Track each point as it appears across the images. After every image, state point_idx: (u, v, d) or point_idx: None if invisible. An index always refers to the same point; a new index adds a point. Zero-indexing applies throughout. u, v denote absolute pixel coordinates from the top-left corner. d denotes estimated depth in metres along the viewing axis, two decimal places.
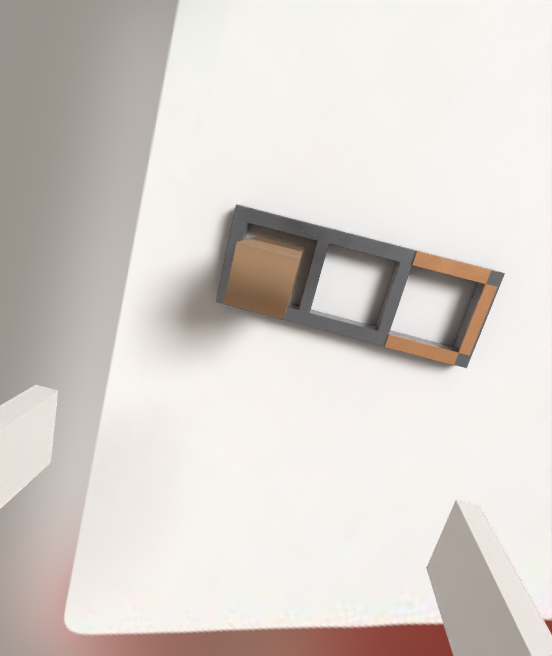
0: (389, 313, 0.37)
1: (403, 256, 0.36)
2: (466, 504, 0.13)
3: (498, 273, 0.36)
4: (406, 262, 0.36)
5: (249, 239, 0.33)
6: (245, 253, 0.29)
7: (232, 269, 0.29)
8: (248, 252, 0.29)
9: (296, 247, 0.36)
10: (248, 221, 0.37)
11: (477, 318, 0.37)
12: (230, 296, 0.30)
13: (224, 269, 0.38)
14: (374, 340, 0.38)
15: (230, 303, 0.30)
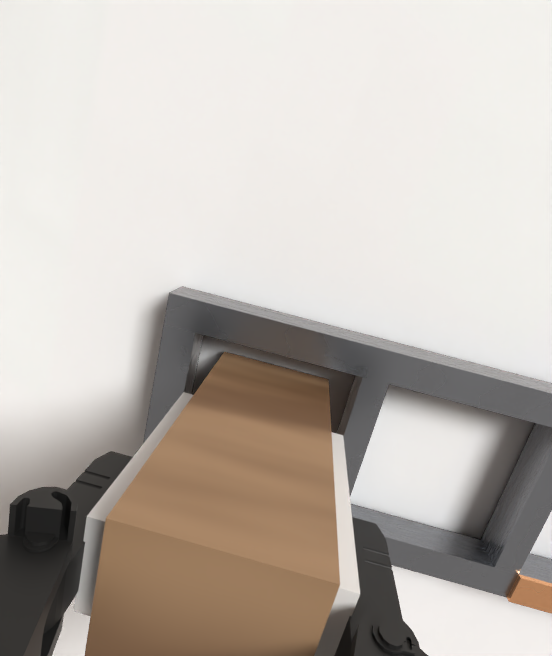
0: (524, 534, 0.16)
1: None
2: None
3: None
4: None
5: (186, 414, 0.12)
6: (139, 553, 0.08)
7: (99, 596, 0.08)
8: (149, 551, 0.08)
9: (312, 394, 0.15)
10: (199, 330, 0.16)
11: None
12: None
13: (149, 430, 0.17)
14: (483, 585, 0.17)
15: None
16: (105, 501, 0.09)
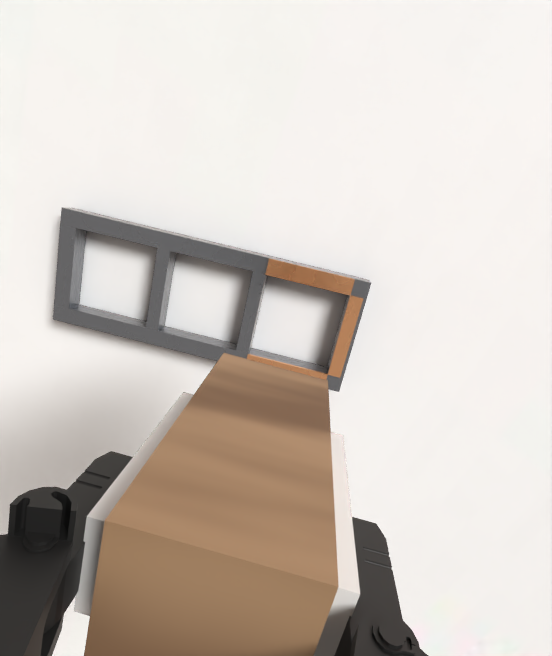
0: (246, 330, 0.32)
1: (255, 264, 0.31)
2: (331, 432, 0.15)
3: (364, 283, 0.31)
4: (259, 271, 0.31)
5: (186, 416, 0.12)
6: (138, 555, 0.08)
7: (98, 598, 0.08)
8: (148, 553, 0.08)
9: (311, 395, 0.15)
10: (77, 226, 0.32)
11: (344, 335, 0.32)
12: None
13: (57, 282, 0.33)
14: None
15: None
16: (105, 501, 0.09)
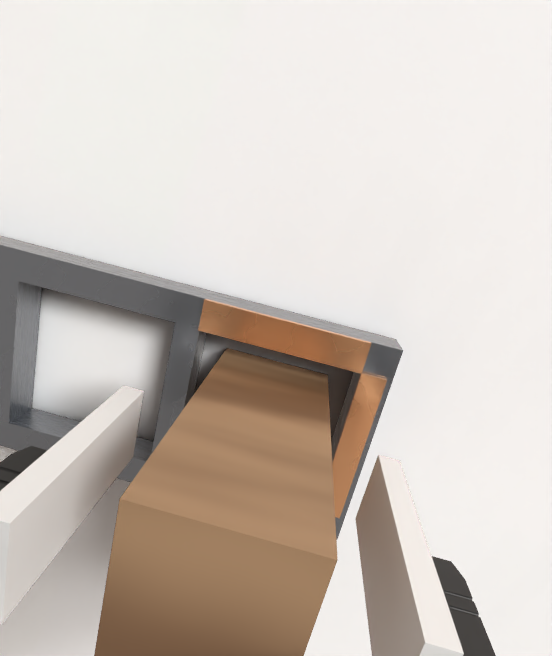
0: (167, 428, 0.17)
1: (178, 310, 0.16)
2: (387, 457, 0.14)
3: (389, 350, 0.16)
4: (187, 323, 0.16)
5: (192, 406, 0.12)
6: (150, 531, 0.08)
7: (113, 573, 0.09)
8: (159, 529, 0.08)
9: (312, 388, 0.16)
10: None
11: (349, 445, 0.17)
12: (112, 643, 0.09)
13: None
14: None
15: None
16: (0, 497, 0.09)
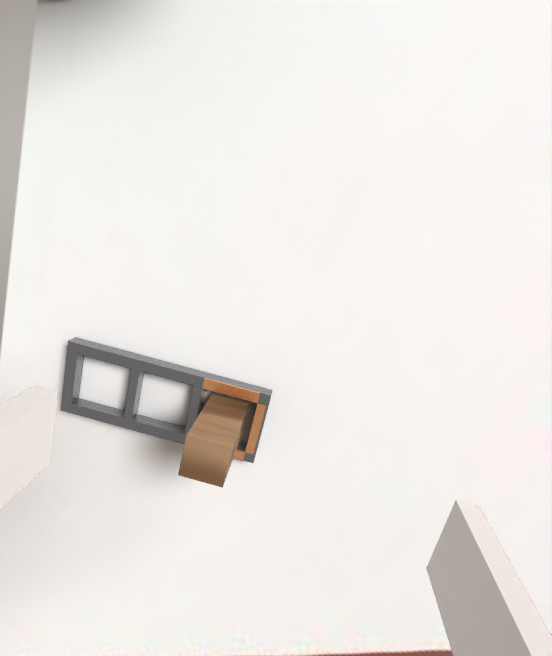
0: (190, 422, 0.48)
1: (195, 381, 0.47)
2: (466, 503, 0.13)
3: (266, 395, 0.47)
4: (198, 385, 0.47)
5: (200, 415, 0.43)
6: (192, 442, 0.39)
7: (183, 452, 0.40)
8: (194, 442, 0.39)
9: (241, 408, 0.47)
10: (78, 353, 0.48)
11: (255, 427, 0.47)
12: (182, 470, 0.40)
13: (64, 387, 0.49)
14: (182, 441, 0.49)
15: (183, 475, 0.40)
16: None
